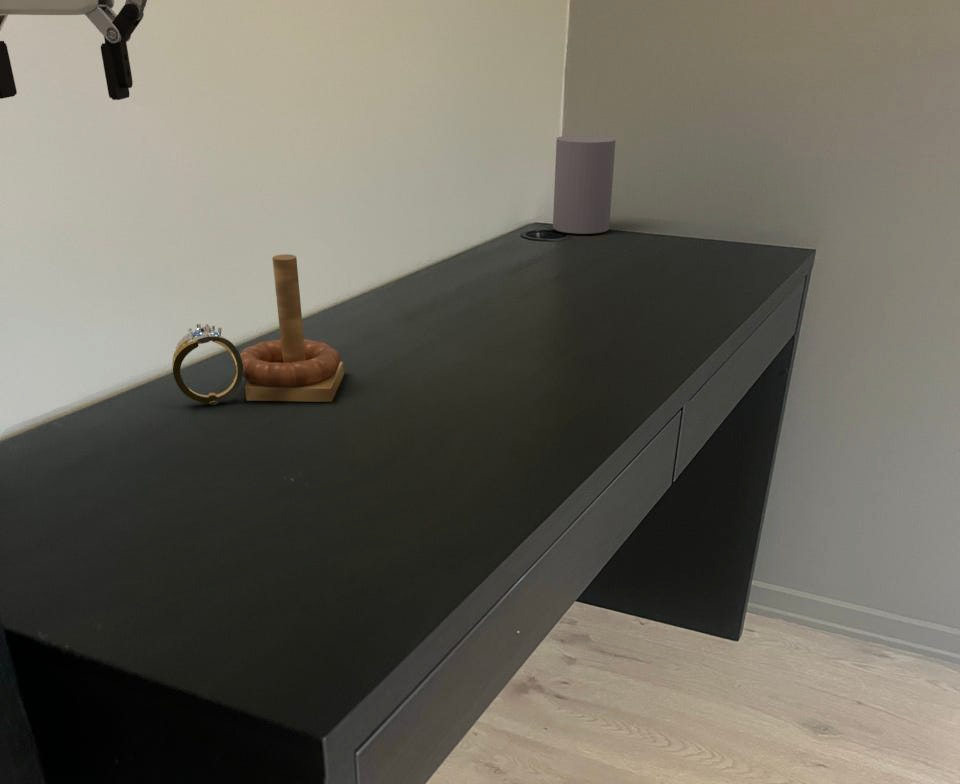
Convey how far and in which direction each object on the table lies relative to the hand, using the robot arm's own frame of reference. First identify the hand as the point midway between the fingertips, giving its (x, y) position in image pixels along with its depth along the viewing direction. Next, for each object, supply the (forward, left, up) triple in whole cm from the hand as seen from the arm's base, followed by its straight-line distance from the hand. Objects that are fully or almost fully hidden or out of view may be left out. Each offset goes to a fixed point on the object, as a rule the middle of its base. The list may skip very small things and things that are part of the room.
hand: (62, 97), depth 83 cm
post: (+15, +11, -28) cm, 34 cm away
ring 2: (+14, +11, -26) cm, 31 cm away
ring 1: (+7, +5, -28) cm, 30 cm away
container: (+51, +100, -28) cm, 116 cm away
